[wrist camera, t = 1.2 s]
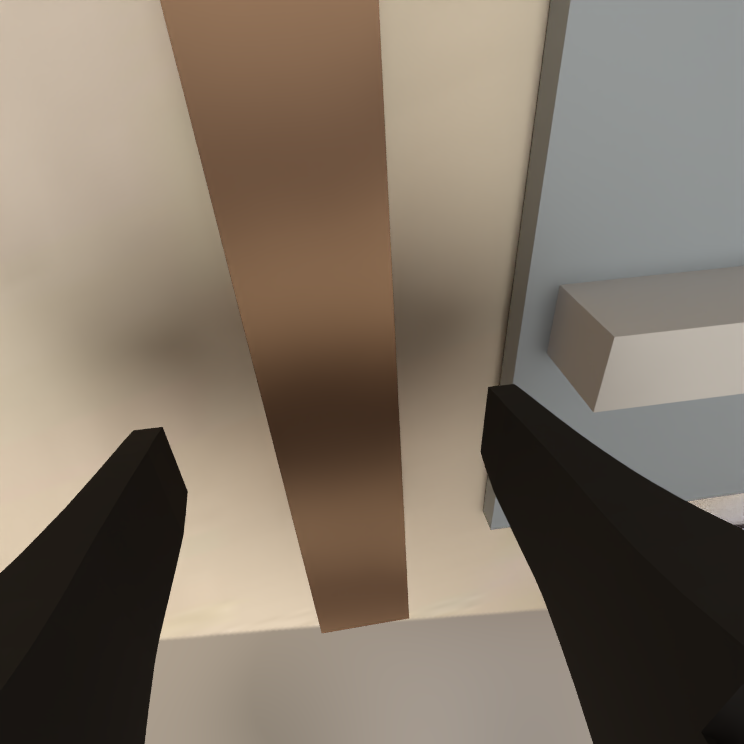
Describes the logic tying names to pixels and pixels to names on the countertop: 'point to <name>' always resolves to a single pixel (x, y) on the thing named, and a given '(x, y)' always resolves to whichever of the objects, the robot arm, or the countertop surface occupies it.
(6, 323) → the countertop surface
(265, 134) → the walnut batten
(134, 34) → the countertop surface
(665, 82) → the ridge board
